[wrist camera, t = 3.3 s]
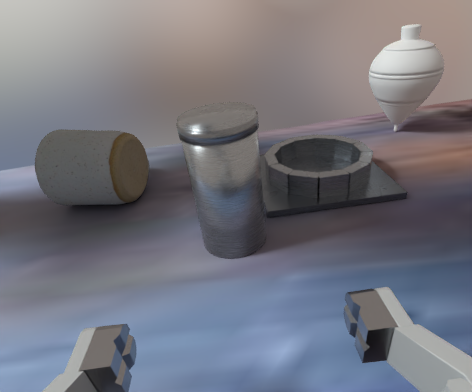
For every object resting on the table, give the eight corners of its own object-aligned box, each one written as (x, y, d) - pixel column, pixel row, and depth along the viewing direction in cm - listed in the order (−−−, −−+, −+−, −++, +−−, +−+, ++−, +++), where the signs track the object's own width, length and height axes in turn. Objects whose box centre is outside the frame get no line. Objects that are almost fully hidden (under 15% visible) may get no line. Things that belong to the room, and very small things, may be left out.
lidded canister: (202, 264, 22) (170, 132, 17) (203, 222, 27) (179, 108, 21) (272, 254, 22) (262, 119, 17) (262, 214, 27) (252, 98, 21)
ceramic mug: (131, 218, 29) (104, 140, 25) (54, 220, 30) (17, 146, 26) (167, 169, 38) (152, 107, 34) (107, 172, 39) (85, 113, 35)
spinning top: (365, 142, 37) (377, 31, 31) (361, 122, 43) (370, 26, 37) (437, 142, 35) (465, 22, 29) (422, 121, 41) (442, 18, 35)
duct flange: (267, 217, 26) (265, 191, 25) (251, 160, 36) (249, 140, 35) (406, 198, 26) (411, 171, 25) (350, 147, 36) (352, 126, 35)
